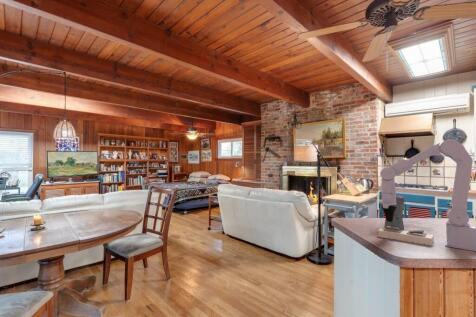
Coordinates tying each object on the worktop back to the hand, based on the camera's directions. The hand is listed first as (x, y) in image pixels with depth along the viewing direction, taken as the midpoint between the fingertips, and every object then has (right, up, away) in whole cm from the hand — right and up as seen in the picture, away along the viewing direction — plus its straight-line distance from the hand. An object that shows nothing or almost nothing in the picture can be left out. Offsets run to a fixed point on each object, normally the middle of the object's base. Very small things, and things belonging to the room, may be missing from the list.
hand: (389, 221), depth 113 cm
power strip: (+4, -7, -5) cm, 9 cm away
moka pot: (+11, -8, +15) cm, 20 cm away
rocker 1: (+1, -3, -1) cm, 3 cm away
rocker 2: (+7, -3, -8) cm, 11 cm away
